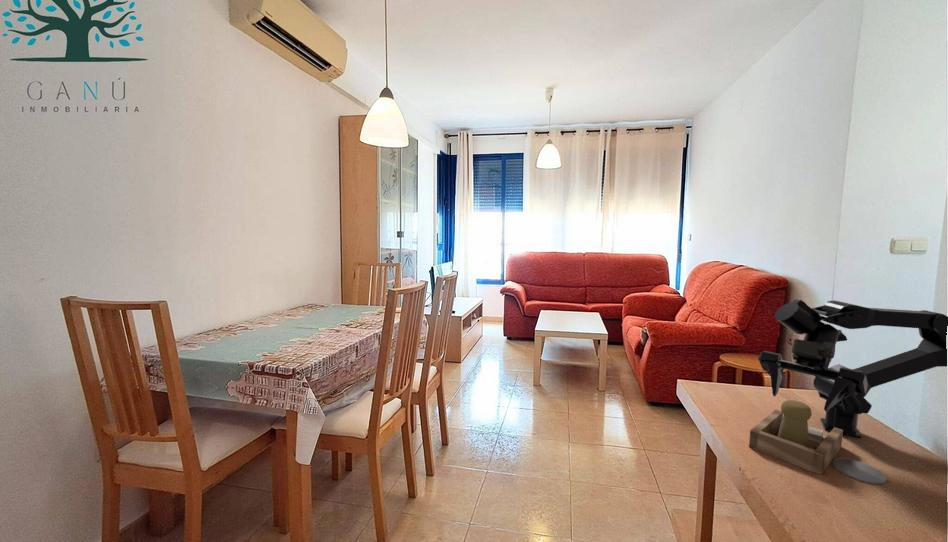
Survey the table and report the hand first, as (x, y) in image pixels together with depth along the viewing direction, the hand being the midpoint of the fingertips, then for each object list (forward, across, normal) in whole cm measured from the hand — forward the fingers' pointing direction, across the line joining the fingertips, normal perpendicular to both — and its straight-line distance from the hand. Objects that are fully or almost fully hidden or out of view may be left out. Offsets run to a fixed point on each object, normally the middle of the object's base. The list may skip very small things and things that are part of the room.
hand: (798, 402), depth 87 cm
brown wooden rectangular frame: (+8, 0, +6) cm, 10 cm away
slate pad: (+8, +11, +6) cm, 15 cm away
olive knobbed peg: (+10, 0, +5) cm, 11 cm away
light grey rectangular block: (+4, 0, +10) cm, 11 cm away
